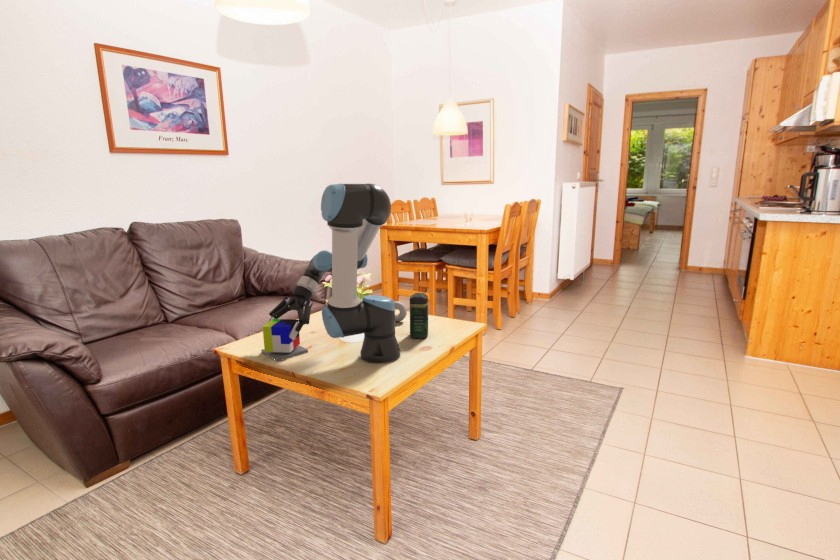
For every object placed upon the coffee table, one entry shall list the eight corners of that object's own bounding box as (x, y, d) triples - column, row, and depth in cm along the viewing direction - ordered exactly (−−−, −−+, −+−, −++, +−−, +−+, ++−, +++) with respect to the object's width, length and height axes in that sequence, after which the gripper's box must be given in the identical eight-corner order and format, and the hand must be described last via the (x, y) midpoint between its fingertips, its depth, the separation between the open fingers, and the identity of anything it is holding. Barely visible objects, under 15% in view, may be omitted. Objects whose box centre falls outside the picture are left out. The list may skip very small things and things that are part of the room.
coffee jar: (427, 339, 191) (427, 296, 187) (408, 339, 191) (408, 296, 188) (429, 332, 200) (428, 291, 196) (411, 332, 201) (410, 291, 197)
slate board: (307, 352, 178) (307, 349, 177) (276, 361, 169) (276, 358, 169) (291, 344, 187) (291, 341, 187) (261, 352, 178) (261, 349, 178)
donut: (408, 321, 217) (407, 301, 215) (405, 323, 214) (404, 302, 212) (388, 319, 220) (388, 299, 218) (385, 321, 217) (385, 301, 215)
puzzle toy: (290, 352, 171) (288, 327, 169) (264, 351, 172) (262, 326, 170) (300, 343, 181) (298, 319, 179) (276, 343, 182) (274, 319, 180)
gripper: (332, 298, 180) (307, 345, 171) (288, 291, 193) (263, 335, 184) (322, 287, 175) (296, 336, 165) (277, 281, 188) (250, 326, 178)
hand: (278, 335), depth 174 cm, fingers closed on puzzle toy, 13 cm apart
